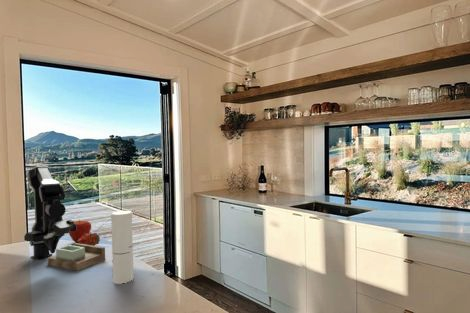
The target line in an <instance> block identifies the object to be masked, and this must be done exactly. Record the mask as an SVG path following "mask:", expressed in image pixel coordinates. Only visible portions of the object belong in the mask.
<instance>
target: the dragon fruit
mask: <svg viewBox="0 0 470 313" xmlns="http://www.w3.org/2000/svg"><path fill="white" fill-rule="evenodd" d="M100 239H101V238H100V235H99V234H97V232H91V231H90V233H89V234H86V233H84V234H83V235H82V236H80V237H79V240H78V241H77V242H75V243H79V244H86V245H93V246H97V245H98V244H99V243H100Z"/></svg>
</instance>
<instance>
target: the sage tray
mask: <svg viewBox="0 0 470 313" xmlns="http://www.w3.org/2000/svg"><path fill="white" fill-rule="evenodd" d="M55 255H56V258H57V259H62V260H68V261H75V260H78V259H81V258H83V257H85V247H79V246H73V245H70V244H67V245H65V246H64V245H63V246H61V247H56V250H55Z"/></svg>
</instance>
